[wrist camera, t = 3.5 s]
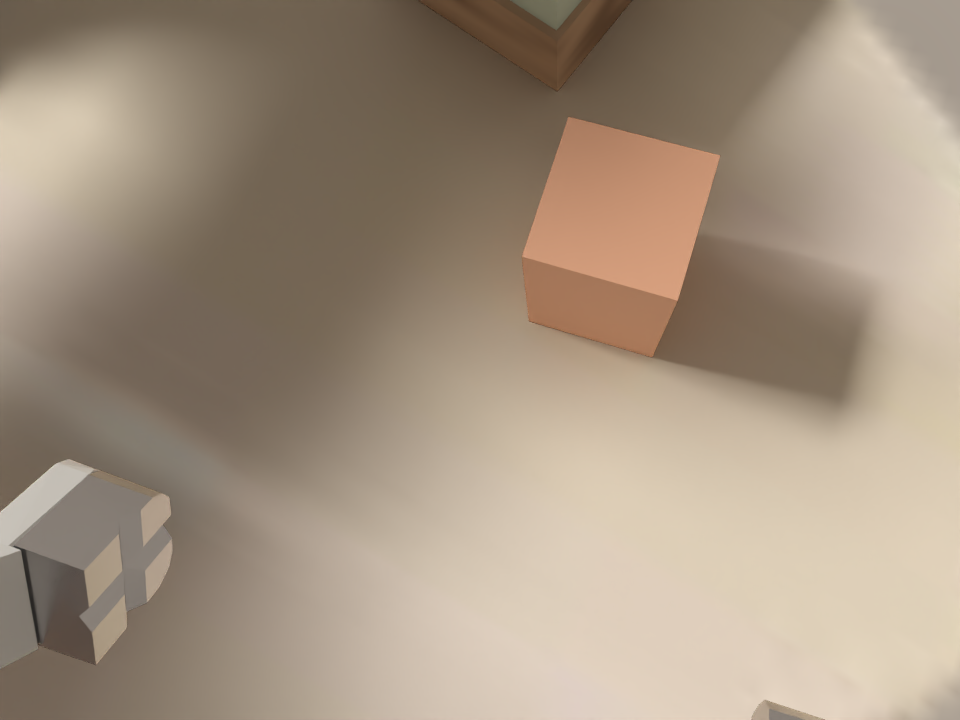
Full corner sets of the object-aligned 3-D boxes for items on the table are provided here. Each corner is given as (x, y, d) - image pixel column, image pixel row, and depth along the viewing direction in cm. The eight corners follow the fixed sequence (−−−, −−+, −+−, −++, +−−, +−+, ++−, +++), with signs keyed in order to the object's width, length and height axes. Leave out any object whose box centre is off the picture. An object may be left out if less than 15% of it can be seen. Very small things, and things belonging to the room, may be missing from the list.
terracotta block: (652, 357, 34) (677, 300, 27) (528, 321, 35) (521, 256, 28) (686, 240, 35) (720, 155, 28) (566, 207, 36) (568, 116, 29)
